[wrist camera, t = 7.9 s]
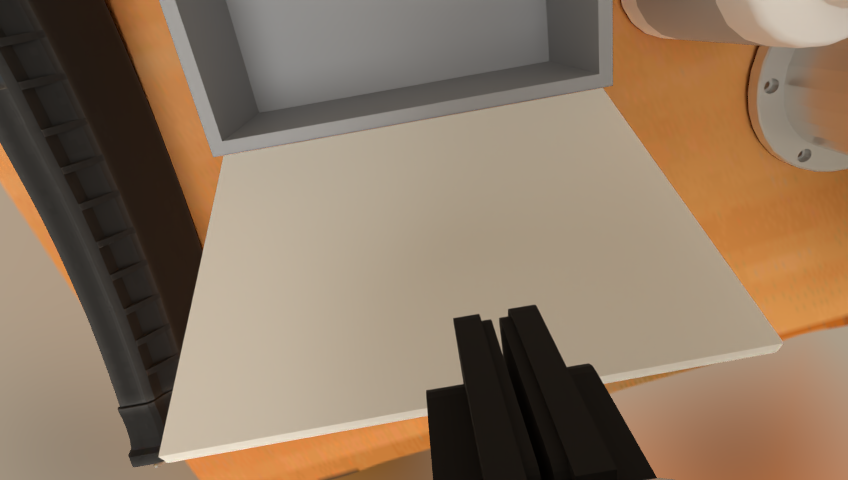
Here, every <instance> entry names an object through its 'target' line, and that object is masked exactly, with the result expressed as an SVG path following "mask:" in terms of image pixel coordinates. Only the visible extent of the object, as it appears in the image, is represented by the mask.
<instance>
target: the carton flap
mask: <svg viewBox="0 0 848 480" xmlns="http://www.w3.org/2000/svg"><path fill="white" fill-rule="evenodd" d="M529 305H536V306H537V308H538V310H539V312H540V314H541V316H542V318H543V320H544V322H545V324H546V326H547V328H548V330H549V332H550V334H551V336H552V338H553V340H554V342H555V344H556V346H557V348H558V350H559V352H560V354H561V356H562V358H563V360H564V362H565V364H566V366H567V367H570V366H576V365H582V364H588V363H589V364H591V365H592V366H593V367H594V369H595V370H596V372H597V373H598V375H599V377H600V379H601V380H602V382H603V384H605V383H611V382H616V381H622V380H627V379H633V378H638V377H644V376H649V375H655V374H660V373H666V372H671V371H677V370H682V369H688V368H693V367H699V366H704V365H710V364H715V363H721V362H726V361H732V360H737V359H743V358H748V357H754V356H759V355H764V354H770V353H776V352H777V351H778V350H779V349H780V347H781V346H782V345H783V344H784V343H783V341H782V340H781V338H780V337H779V335H778V334H777V333H776V331H775V330H774V328H773V327H772V326H771V324H770V323H769V321H768V320H767V319H766V317H765V316H764V314H763V313H762V312H761V310H760V309H759V307H758V306H757V304H756V303H755V302H754V300H753V299H752V297H751V296H750V295H749V293H748V292H747V290H746V289H745V288H744V286H743V285H742V283H741V282H740V281H739V279H738V278H737V276H736V275H735V274H734V272H733V271H732V269H731V268H730V266H729V265H728V264H727V262H726V261H725V259H724V258H723V257H722V255H721V254H720V252H719V251H718V250H717V248H716V247H715V245H714V244H713V243H712V241H711V240H710V238H709V237H708V236H707V234H706V233H705V231H704V230H703V228H702V227H701V226H700V224H699V223H698V221H697V220H696V219H695V217H694V216H693V214H692V213H691V212H690V210H689V209H688V207H687V206H686V205H685V203H684V202H683V200H682V199H681V197H680V196H679V195H678V193H677V192H676V190H675V189H674V188H673V186H672V185H671V183H670V182H669V181H668V179H667V178H666V176H665V175H664V174H663V172H662V171H661V169H660V168H659V167H658V165H657V164H656V162H655V161H654V159H653V158H652V157H651V155H650V154H649V152H648V151H647V150H646V148H645V147H644V145H643V144H642V143H641V141H640V140H639V138H638V137H637V136H636V134H635V133H634V131H633V130H632V129H631V127H630V126H629V124H628V123H627V121H626V120H625V119H624V117H623V116H622V114H621V113H620V112H619V110H618V109H617V107H616V106H615V105H614V103H613V102H612V100H611V99H610V98H609V96H608V95H607V93H606V92H605V90H604V89H603V88H599V89H594V90H588V91H582V92H577V93H571V94H566V95H560V96H555V97H549V98H543V99H538V100H532V101H527V102H521V103H515V104H510V105H504V106H499V107H493V108H488V109H482V110H476V111H471V112H465V113H460V114H454V115H448V116H443V117H437V118H432V119H426V120H421V121H415V122H409V123H404V124H398V125H393V126H387V127H381V128H376V129H370V130H365V131H359V132H354V133H348V134H342V135H337V136H331V137H326V138H320V139H314V140H309V141H303V142H298V143H292V144H287V145H281V146H275V147H270V148H264V149H259V150H253V151H247V152H242V153H236V154H231V155H225V156H224V157H223V161H222V166H221V171H220V175H219V180H218V184H217V189H216V194H215V198H214V203H213V207H212V212H211V217H210V221H209V226H208V230H207V235H206V240H205V244H204V249H203V253H202V258H201V263H200V267H199V272H198V276H197V281H196V286H195V290H194V295H193V299H192V304H191V309H190V313H189V318H188V323H187V327H186V332H185V336H184V341H183V346H182V350H181V355H180V359H179V364H178V369H177V373H176V378H175V382H174V387H173V392H172V396H171V401H170V405H169V410H168V415H167V419H166V424H165V428H164V433H163V438H162V442H161V447H160V451H159V456H158V457H159V458H161V459H162V460H164V461H166V462H167V463H170V462H175V461H181V460H186V459H192V458H197V457H203V456H208V455H214V454H219V453H225V452H231V451H236V450H242V449H247V448H253V447H258V446H264V445H269V444H275V443H280V442H286V441H291V440H297V439H302V438H308V437H313V436H319V435H324V434H330V433H335V432H341V431H346V430H352V429H357V428H363V427H368V426H374V425H379V424H385V423H390V422H396V421H401V420H407V419H412V418H418V417H423V416H428V412H427V400H426V390H431V389H437V388H443V387H449V386H455V385H461V384H463V377H462V371H461V365H460V359H459V353H458V347H457V341H456V335H455V329H454V322H453V318H457V317H463V316H469V315H475V314H480V317H481V321H483V320H489V319H491V320H492V323H493V326H494V329H495V332H496V335H497V338H498V342H499V345H500V348H501V351H502V342H501V334H500V326H499V318H501V317H507V316H508V309H511V308H517V307H523V306H529ZM502 354H503V351H502Z"/></svg>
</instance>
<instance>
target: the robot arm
mask: <svg viewBox="0 0 848 480" xmlns="http://www.w3.org/2000/svg"><path fill="white" fill-rule="evenodd" d="M748 110H749V115H750V119H751V123H752V127H753V129H754V131H755V133H756V135H757V137H758V139H759V141H760V142H761V144H762V145H763V146H764V147H765V148H766V149H767V150H768V151H769V153H770V154H772V155H773V156H775V157H776V158H778V159H779V160H781V161H783V162H785V163H787V164H790V165H793V166H795V167H798V168H801V169H805V170H810V171H814V172H834V171H840V170H845V169H848V38H846V39H843V40H841V41H838V42H836V43H833V44H831V45H827V46H819V47H807V48H788V47H774V46H761V45H760V47H759V49H758V51H757V54H756V57H755V60H754V63H753V66H752V69H751V74H750V81H749V87H748ZM453 322H454V329H455V335H456V341H457V347H458V353H459V359H460V365H461V371H462V377H463V384H461V385H455V386H449V387H443V388H437V389H431V390H426V400H427V412H428V423H429V435H430V447H431V459H432V471H433V480H673V479H663V478H657V477H656V476H655V474H654V472H653V470H652V468H651V467H650V465H649V463H648V461H647V460H646V458H645V456H644V454H643V453H642V451H641V449H640V447H639V446H638V444H637V442H636V440H635V438H634V437H633V435H632V433H631V431H630V430H629V428H628V426H627V425H626V423H625V421H624V419H623V417H622V416H621V414H620V412H619V410H618V409H617V407H616V405H615V403H614V402H613V400H612V398H611V396H610V395H609V393H608V391H607V389H606V388H605V386H604V384H603V382H602V380H601V379H600V377H599V375H598V373H597V372H596V370H595V369H594V367H593V366H592V365H591V364H589V363H588V364H582V365H576V366H570V367H567V366H566V364H565V362H564V360H563V358H562V356H561V354H560V352H559V350H558V348H557V346H556V344H555V342H554V340H553V338H552V336H551V334H550V332H549V330H548V328H547V326H546V324H545V322H544V320H543V318H542V316H541V314H540V312H539V310H538V308H537V306H536V305H529V306H523V307H517V308H511V309H508V316H507V317H501V318H499V326H500V334H501V342H502V351H503V354H502V351H501V348H500V345H499V342H498V338H497V335H496V332H495V329H494V326H493V323H492V320H491V319H489V320H483V321H481V317H480V314H475V315H469V316H463V317H457V318H453Z"/></svg>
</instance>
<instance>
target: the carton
mask: <svg viewBox="0 0 848 480" xmlns="http://www.w3.org/2000/svg"><path fill="white" fill-rule="evenodd" d="M159 2H160V5H161V7H162V10H163V13H164V16H165V19H166V22H167V25H168V28H169V31H170V33H171V36H172V39H173V42H174V45H175V48H176V51H177V54H178V57H179V60H180V62H181V65H182V68H183V71H184V74H185V77H186V80H187V83H188V86H189V88H190V91H191V94H192V97H193V100H194V103H195V106H196V109H197V112H198V114H199V117H200V120H201V123H202V126H203V129H204V132H205V135H206V138H207V141H208V143H209V146H210V149H211V152H212V155H213V157H217V156H223V155H228V154H234V153H239V152H245V151H251V150H256V149H262V148H267V147H273V146H278V145H284V144H290V143H295V142H301V141H306V140H312V139H318V138H323V137H329V136H334V135H340V134H345V133H351V132H357V131H362V130H368V129H373V128H379V127H385V126H390V125H396V124H401V123H407V122H412V121H418V120H424V119H429V118H435V117H440V116H446V115H452V114H457V113H463V112H468V111H474V110H479V109H485V108H491V107H496V106H502V105H507V104H513V103H519V102H524V101H530V100H535V99H541V98H546V97H552V96H558V95H563V94H569V93H574V92H580V91H586V90H591V89H597V88H602V87H608V86H613V8H612V0H159Z"/></svg>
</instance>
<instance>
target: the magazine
mask: <svg viewBox="0 0 848 480" xmlns="http://www.w3.org/2000/svg"><path fill="white" fill-rule="evenodd" d="M0 143H1V145H2V146H3V148H4V150H5V152H6V154H7V156H8V157H9V159H10V161H11V163H12V165H13V166H14V168H15V170H16V172H17V174H18V175H19V177H20V179H21V181H22V183H23V185H24V186H25V188H26V190H27V192H28V194H29V196H30V197H31V199H32V201H33V203H34V205H35V207H36V208H37V210H38V212H39V214H40V216H41V218H42V220H43V222H44V224H45V226H46V228H47V230H48V232H49V234H50V236H51V238H52V240H53V242H54V244H55V246H56V248H57V251H58V253H59V255H60V257H61V259H62V261H63V264H64V266H65V268H66V270H67V273H68V275H69V277H70V279H71V281H72V284H73V286H74V288H75V290H76V293H77V295H78V297H79V300H80V302H81V304H82V306H83V309H84V311H85V313H86V315H87V318H88V320H89V323H90V325H91V327H92V331H93V333H94V336H95V338H96V341H97V343H98V346H99V349H100V351H101V354H102V356H103V359H104V362H105V365H106V368H107V370H108V373H109V376H110V379H111V382H112V384H113V387H114V390H115V393H116V396H117V399H118V402H119V405H120V407H118V411H119V413H120V415H121V417H122V419H123V421H124V424H125V426H126V428H127V432H128V435H129V438H130V443H131V450H130V453H129V458H130V461H131V464H132V466H133V467H138V466H144V465H150V464H154V465H153V466H154V468H157V467H159V466H160V465H162V464H164V463H165V462H166V461H164V460H162V459H161V458H159V457H158V456H159V451H160V447H161V442H162V438H163V433H164V428H165V424H166V419H167V415H168V410H169V405H170V401H171V396H172V392H173V387H174V382H175V378H176V373H177V369H178V364H179V359H180V355H181V350H182V346H183V341H184V336H185V332H186V327H187V323H188V318H189V313H190V309H191V304H192V299H193V295H194V290H195V286H196V281H197V276H198V272H199V267H200V263H201V258H202V253H203V252H202V249H201V246H200V243H199V240H198V237H197V234H196V230H195V227H194V224H193V221H192V218H191V216H190V213H189V210H188V207H187V204H186V201H185V198H184V195H183V192H182V190H181V187H180V184H179V182H178V179H177V176H176V174H175V171H174V168H173V165H172V163H171V160H170V157H169V155H168V152H167V150H166V147H165V144H164V142H163V139H162V137H161V134H160V131H159V129H158V126H157V124H156V121H155V119H154V116H153V114H152V111H151V109H150V106H149V104H148V102H147V99H146V97H145V94H144V92H143V89H142V87H141V85H140V82H139V80H138V77H137V75H136V73H135V70H134V68H133V65H132V63H131V61H130V58H129V56H128V54H127V51H126V49H125V46H124V44H123V42H122V40H121V37H120V35H119V33H118V31H117V28H116V26H115V24H114V22H113V19H112V17H111V15H110V12H109V10H108V8H107V6H106V3H105V1H104V0H0Z"/></svg>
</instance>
